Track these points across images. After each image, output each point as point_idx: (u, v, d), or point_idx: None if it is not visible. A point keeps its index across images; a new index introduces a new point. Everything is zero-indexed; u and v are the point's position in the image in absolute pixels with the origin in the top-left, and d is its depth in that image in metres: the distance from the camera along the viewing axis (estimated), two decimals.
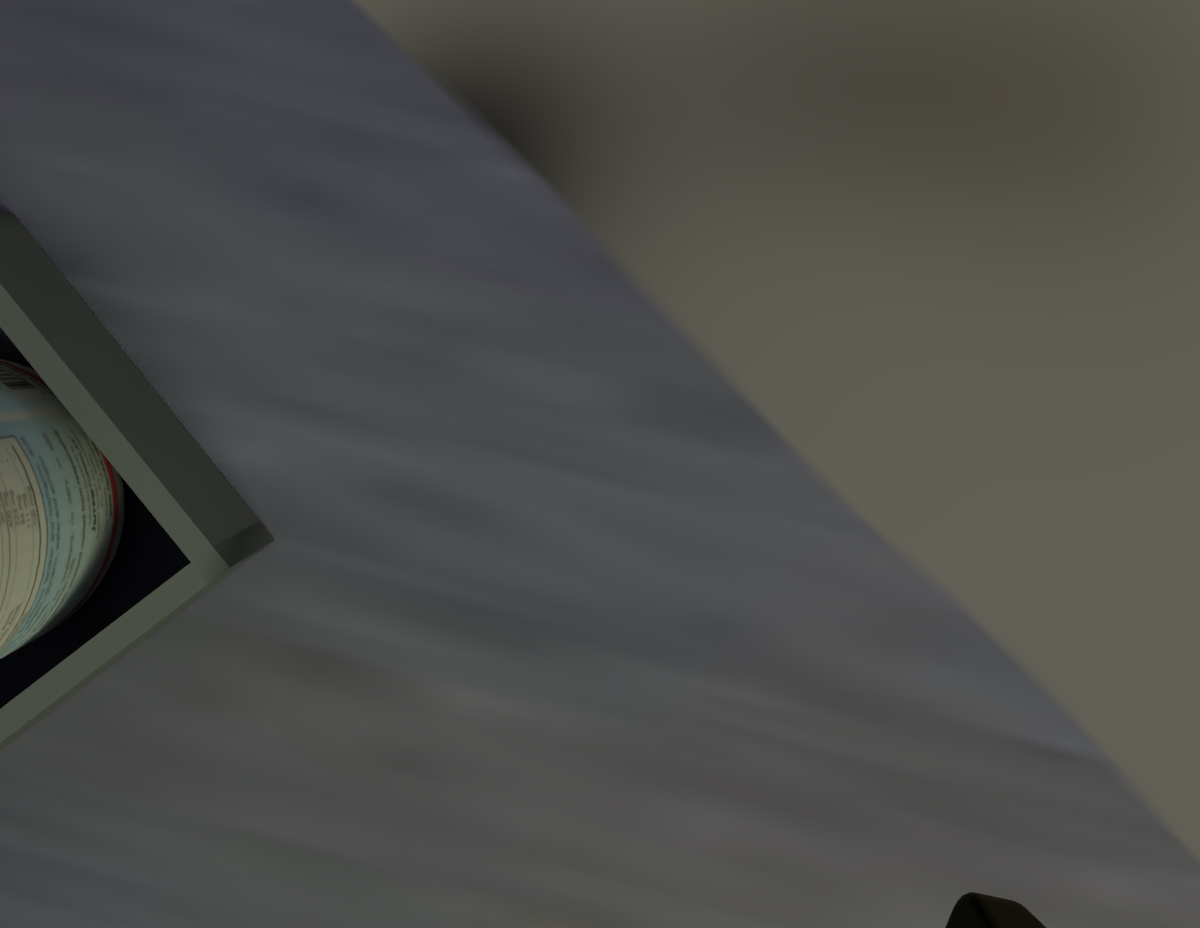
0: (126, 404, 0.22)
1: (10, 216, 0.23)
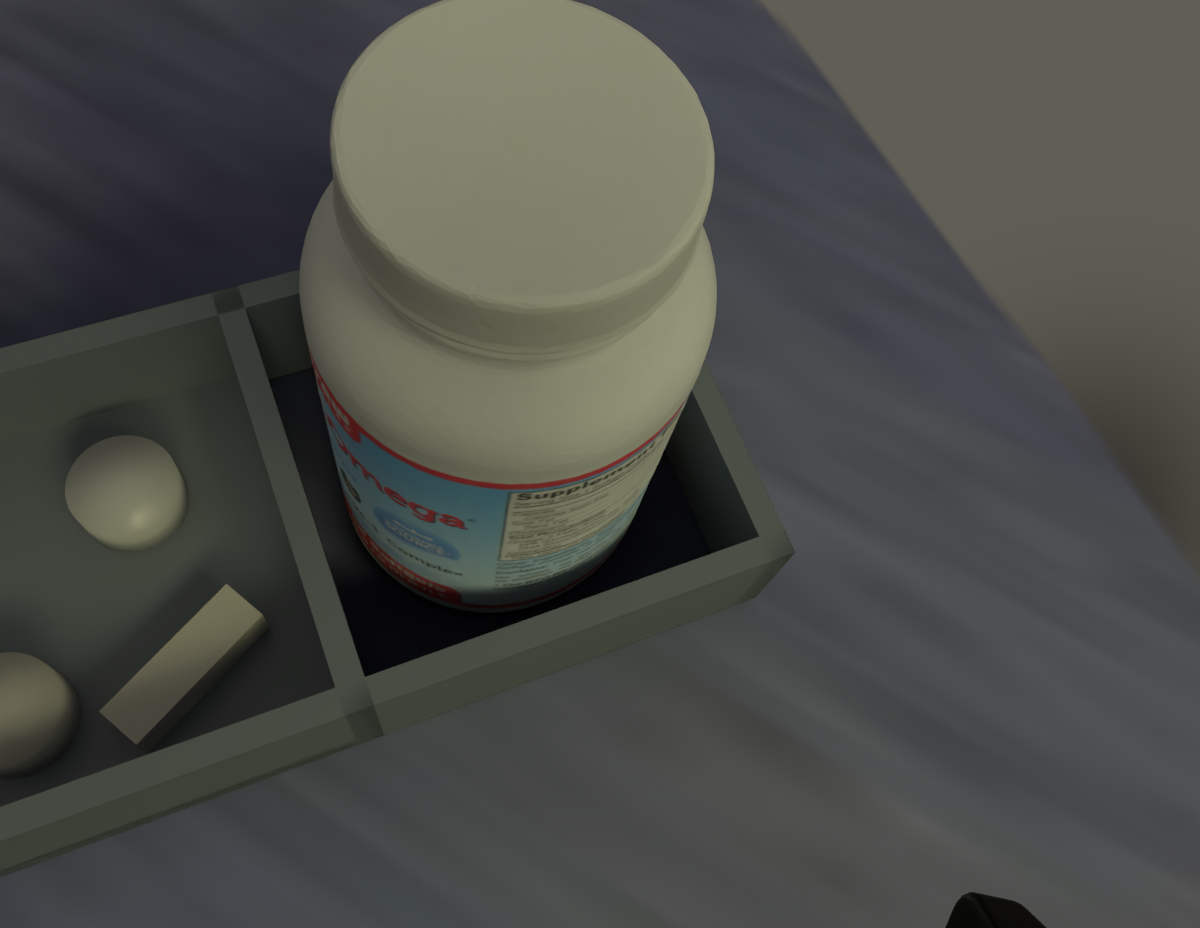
0: None
1: None
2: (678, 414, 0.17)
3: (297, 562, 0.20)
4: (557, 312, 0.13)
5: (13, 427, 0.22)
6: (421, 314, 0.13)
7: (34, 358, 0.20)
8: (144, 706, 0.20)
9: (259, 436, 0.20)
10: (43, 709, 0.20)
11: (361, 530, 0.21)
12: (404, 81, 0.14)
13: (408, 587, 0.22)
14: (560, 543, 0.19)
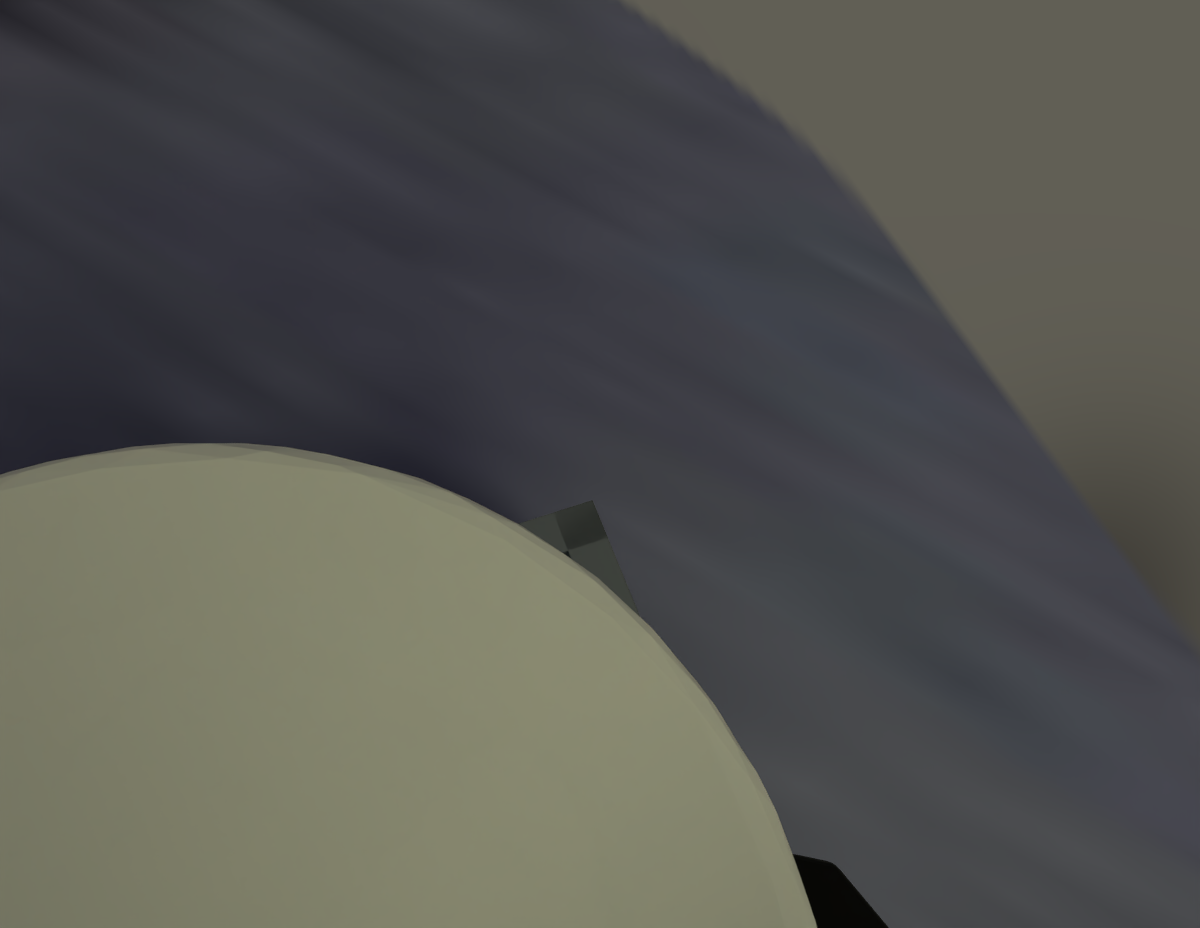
0: None
1: None
2: None
3: None
4: None
5: None
6: None
7: None
8: None
9: None
10: None
11: None
12: None
13: None
14: None
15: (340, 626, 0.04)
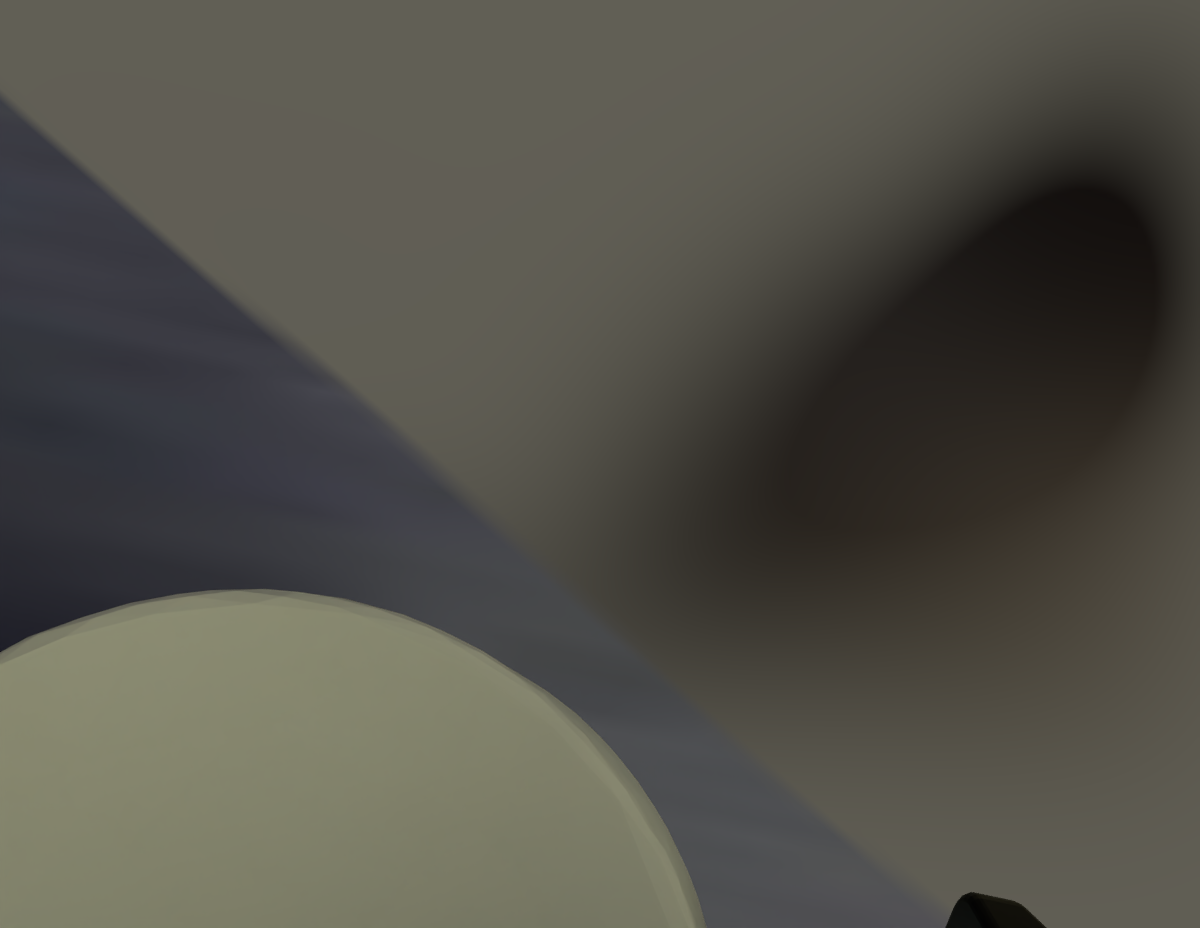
0: None
1: None
2: None
3: None
4: None
5: None
6: None
7: None
8: None
9: None
10: None
11: None
12: None
13: None
14: None
15: (341, 738, 0.06)
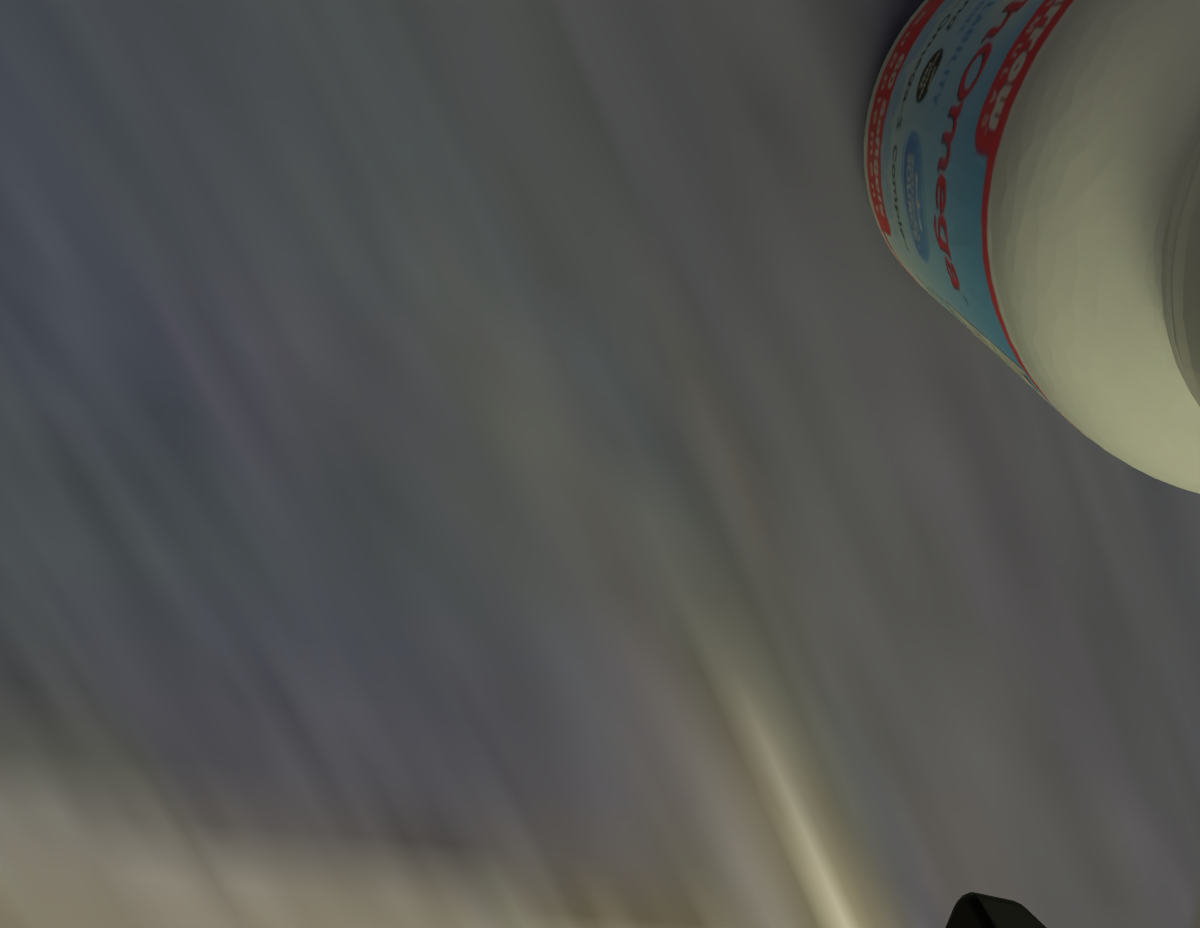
0: None
1: None
2: None
3: None
4: None
5: None
6: (1186, 275, 0.09)
7: None
8: None
9: None
10: None
11: (891, 78, 0.16)
12: None
13: (864, 157, 0.18)
14: None
15: None
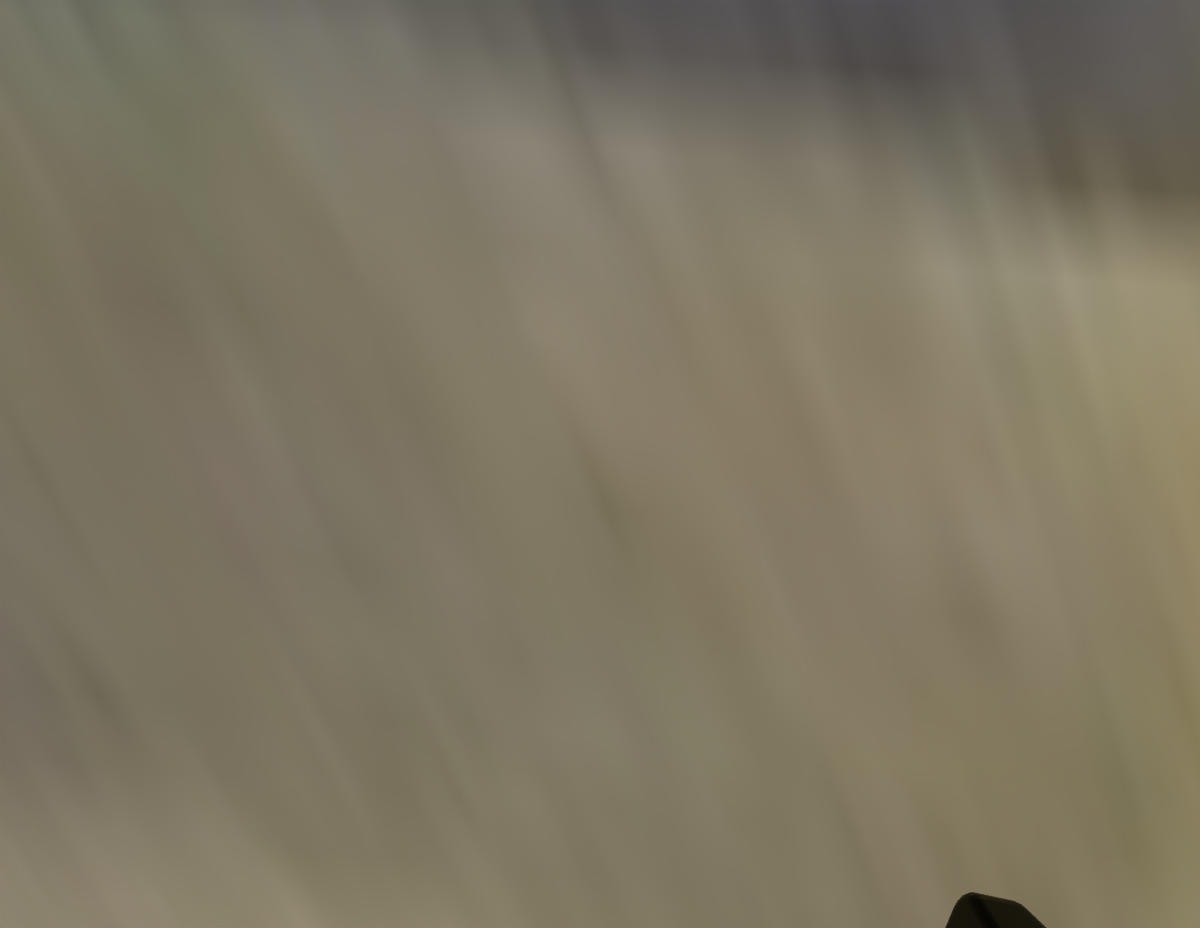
0: None
1: None
2: None
3: None
4: None
5: None
6: None
7: None
8: None
9: None
10: None
11: None
12: None
13: None
14: None
15: None
